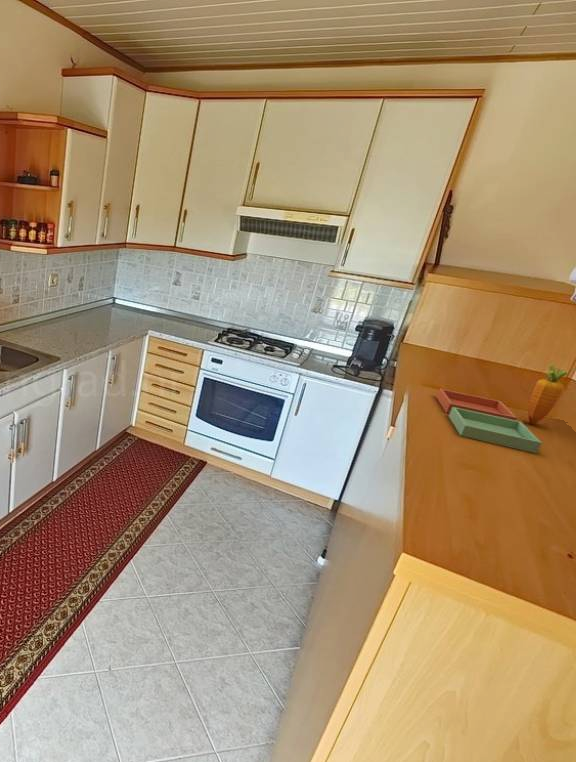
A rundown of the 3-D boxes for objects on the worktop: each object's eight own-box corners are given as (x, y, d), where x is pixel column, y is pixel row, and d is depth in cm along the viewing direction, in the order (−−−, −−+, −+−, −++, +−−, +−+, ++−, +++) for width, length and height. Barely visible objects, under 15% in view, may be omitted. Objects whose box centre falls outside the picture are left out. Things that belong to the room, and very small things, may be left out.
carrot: (549, 430, 117) (578, 371, 111) (524, 425, 118) (551, 367, 113) (538, 423, 121) (566, 366, 116) (514, 418, 123) (540, 361, 117)
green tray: (516, 431, 114) (521, 421, 113) (536, 453, 103) (542, 442, 102) (448, 416, 119) (452, 406, 118) (460, 435, 108) (465, 425, 107)
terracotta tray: (496, 410, 127) (500, 401, 126) (512, 427, 116) (517, 417, 115) (436, 397, 133) (439, 388, 132) (446, 412, 122) (450, 403, 121)
